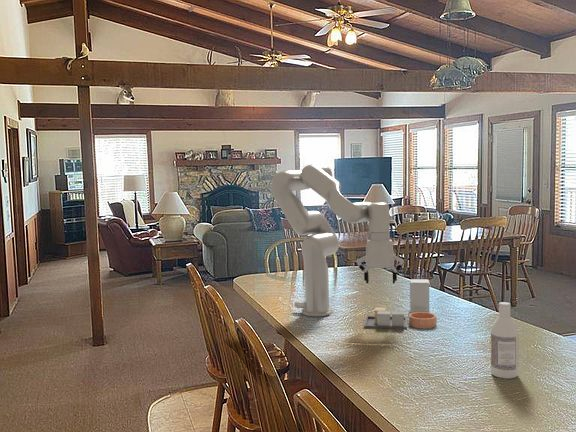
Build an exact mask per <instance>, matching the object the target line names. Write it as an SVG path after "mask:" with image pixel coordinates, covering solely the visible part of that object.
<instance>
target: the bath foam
mask: <svg viewBox="0 0 576 432" xmlns="http://www.w3.org/2000/svg"><path fill="white" fill-rule="evenodd" d="M490 373H491V375H492V376H494V377H497V378H499V379H506V380H508V379H509V380H510V379H514V378H517V377H518V375H519V331H518V327H517V324H516V323H515V321H514V319H513V318H512V316H511V303H510V302H506V301H501V302H498V316H497V318H496V319H495V320H494V322H493V323H492V326H491V330H490Z"/></svg>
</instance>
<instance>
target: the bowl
mask: <svg viewBox="0 0 576 432" xmlns="http://www.w3.org/2000/svg"><path fill="white" fill-rule="evenodd" d="M437 321H438V320H437V314H436V313H431V312H429V313H428V312H415V313H409V314H408V322H409V323H408V325H409V326H411V327H412V328H413V327H414V328H417V329H418V328H419V329H430V328H435V327H437V324H438V323H437Z"/></svg>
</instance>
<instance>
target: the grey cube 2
mask: <svg viewBox="0 0 576 432" xmlns="http://www.w3.org/2000/svg"><path fill="white" fill-rule="evenodd" d="M391 317H392V326H404V317H405V311H391Z"/></svg>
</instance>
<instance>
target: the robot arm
mask: <svg viewBox="0 0 576 432" xmlns="http://www.w3.org/2000/svg"><path fill="white" fill-rule="evenodd" d="M270 187H271V188H270V189H271V194H272V196H273V199H274V200H275V202H276V203H277V205H278V206H279V209H281V211H282V213H283V214H284V216H285V218H286V219H287V221H288V223H289V224H290V227H291V228H292V230H293V231H294V232H295V234H296V235H298V236H306V237H305V238H304V239H303V241H302V242H301V246H300V247H301V254H302V258H303V267H304V269H303V270H304V271H303V272H304V296H305V297H304V300H305V301H302V302H299V301H295V302H294V307H295V308H297V309H301V314H302V315H304V316H306V317H307V316H308V317H315V318H316V317H319V318H320V317H326V316H330V315H332V314H333V313H334V309H333V308H332V307H330V287H329V286H330V284H329V281H330V280H329V267H328V266H329V265H328V262H327V260H326V257H329V256H331V255H334V254H336V253H337V252H338V250H339V247H340V242H339V239H338V235H336V233H335V231H334V229H333V228H332V226H331V224H330V223H329V221H328V220H327V218H326V216H324V215H323V213H322V212H320V211H318V210H308V209H307V208H306V207H305V206H304V205H303V202H302V201H301V199H300V198H299V197H298V196H297V195H296V194H295V193H293V192H295V191H304V190H310V189H311V190H313V192H315V193H316V194H318V196H320V197H321V198H323V199H324V201H326V204H327V206H328V207H329V210H330V211H331V212H332V213H334V214H335V215H336V216H337V217H338V218H340V219H341V220H342V221H344V222H345V223H348V224H351V225H352V224H359V223H365V222H366V223H367V222H368V232H366V233H364V237H365V238H368V240H366V244H365V245H366V246H365V255H363V256H362V257H360V258H358V259H357V260H355V261H356V265H357V266H358V268H359V269H360V270H361V271H362V272H363V273H364V274H363V277H364V281H365V283H366V284H369V281H370V280H369V271H368V270H369V269H391V270H392V284H396V282H397V280H398V279H397V277H398V272H399V271H400V269H401V268H402V267H403V265H404V263H405V260H404V259H403V258H401V257H399V256H398V255H395V253H394V245H393V240H392V239H391V234H390V233H391V232H390V230H391V229H390V228H391V227H390V225H391V224H390V206H389V203H387V202H369V201H360V202H358V201H357V202H353V201H352V202H351V201H350V200H349V199H347V198H346V197H345V196H344V195H342V193H341V188H342V185H341V183H340V181H339V180H337V179H336V178H334V177H333V172H332V169H331V168H330V167H329V166H328V165H326V164H324V163H323V164H321V163H320V164H319V163H318V164H317V163H316V164H315V163H314V164H313V163H312V164H307V165H305V166H304V167H303V168H302V169H291V170H290V169H289V170H281V171H279V172H277V173H276V174H275V175H274V176H273V178H272V180H271V184H270ZM364 261H365V266H364V264H362V262H364ZM395 261H397V262H399V263H398V264H397V266H395Z"/></svg>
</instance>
